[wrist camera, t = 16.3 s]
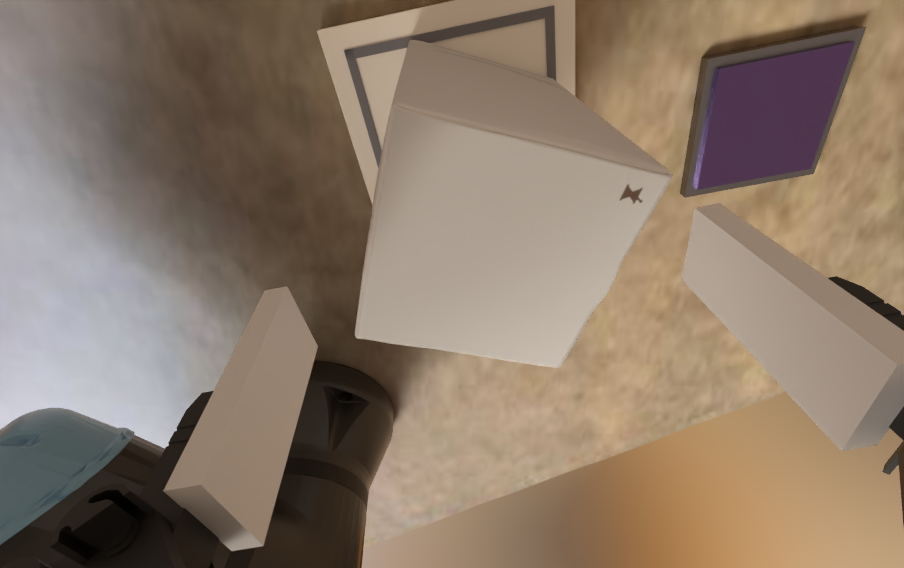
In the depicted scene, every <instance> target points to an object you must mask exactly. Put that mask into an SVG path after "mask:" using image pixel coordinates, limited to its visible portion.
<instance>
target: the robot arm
mask: <svg viewBox="0 0 904 568" xmlns="http://www.w3.org/2000/svg"><path fill="white" fill-rule="evenodd" d="M682 280H683V281H684V282H685V283H686V284H687V286H688V287H689V288H690V289H691V290H692V291H693V292H694V293H695V294H696V295H697V296H698V297H699V298H700V300H701V301H702V302H703V303H704V304H705V305H706V306H707V307H708V308H709V309H710V310H711V311H712V312H713V314H714V315H715V316H716V317H717V318H718V319H719V320H720V321H721V322H722V323H723V324H724V325H725V326H726V328H727V329H728V330H729V331H730V332H731V333H732V334H733V335H734V336H735V337H736V338H737V339H738V340H739V342H740V343H741V344H742V345H743V346H744V347H745V348H746V349H747V350H748V351H749V352H750V353H751V354H752V356H753V357H754V358H755V359H756V360H757V361H758V362H759V363H760V364H761V365H762V366H763V367H764V368H765V370H766V371H767V372H768V373H769V374H770V375H771V376H772V377H773V378H774V379H775V380H776V381H777V382H778V384H779V385H780V386H781V387H782V388H783V389H784V390H785V391H786V392H787V393H788V394H789V395H790V396H791V397H792V398H793V400H794V401H795V402H796V403H797V404H798V405H799V406H800V407H801V408H802V409H803V410H804V411H805V412H806V414H807V415H808V416H809V417H810V418H811V419H812V420H813V421H814V422H815V423H816V424H817V426H818V427H819V428H820V429H821V430H822V431H823V432H824V433H825V434H826V435H827V436H828V437H829V438H830V440H831V441H832V442H833V443H834V444H835V445H836V446H837V447H838V448H839V449H840V450H841V451H845V450H851V449H857V448H863V447H870V446H876V445H878V444H879V442H880V440H881V439H882V438H883V437H884V435H885V434H886V433H887V431H888V430H889V428H891V429H892V430H893V431H894V432H895V433H896V434H897V435H898V436H899V437H900V438H902V439H903V440H904V315H902V314H901V312H900V311H899V310H897V309H896V308H894V307H893V306H891V305H890V304H888V303H887V304H885V303H884V300H882V299H881V298H879V297H878V296H876V295H875V294H873V293H872V292H870V291H869V290H867V289H865V288H864V287H862V286H860V285H857V284H855V283H852V282H849V281H847V280H844V279H842V278H839V277H837V276H836V277H831V278H827V277H825V276H824V275H822V274H821V273H819V272H818V271H816V270H815V269H814V268H812V267H811V266H809V265H808V264H806V263H805V262H803V261H802V260H801V259H799V258H798V257H796V256H795V255H793V254H792V253H790V252H789V251H788V250H786V249H785V248H783V247H782V246H780V245H779V244H777V243H776V242H775V241H773V240H772V239H770V238H769V237H767V236H766V235H764V234H763V233H762V232H760V231H759V230H757V229H756V228H754V227H753V226H752V225H750V224H749V223H747V222H746V221H744V220H743V219H741V218H740V217H739V216H737V215H736V214H734V213H733V212H731V211H730V210H728V209H727V208H726V207H724V206H723V205H721V204H720V203H718V204H713V205H708V206H703V207H698V208H695V209H694V214H693V220H692V225H691V231H690V236H689V242H688V247H687V253H686V259H685V264H684V270H683V275H682ZM317 348H318V346H317V344H316V342H315V340H314V338H313V336H312V334H311V332H310V330H309V328H308V326H307V324H306V322H305V320H304V318H303V316H302V314H301V312H300V310H299V308H298V306H297V304H296V302H295V300H294V299H293V297H292V295H291V293H290V291H289V289H288V287H287V286H285V287H280V288H275V289H270V290H265V291H264V292H263V294H262V296H261V298H260V300H259V302H258V304H257V306H256V308H255V310H254V312H253V314H252V316H251V318H250V320H249V322H248V324H247V326H246V328H245V330H244V332H243V334H242V336H241V338H240V340H239V342H238V344H237V346H236V348H235V350H234V352H233V354H232V356H231V358H230V360H229V362H228V364H227V366H226V368H225V370H224V372H223V374H222V376H221V378H220V380H219V382H218V384H217V386H216V388H215V389H214V391H210V392H205V393H202V394H201V395H200V396H199V397H198V398H197V399H196V400H195V401H194V402H193V404H192V405H191V406H190V407H189V408H188V409H187V410H186V412H185V414H184V415H183V417H182V419H181V421H180V423H179V425H178V426H177V431H175V432H174V434H173V436H172V437H171V439H170V441H169V446H168V447H166V448H165V449H164V448H162V447H160V446H158V445H155V444H153V443H151V442H149V441H147V440H144V439H142V438H140V437H138V436H135V435H134V432H133V431H131V430H129V429H128V428H115V427H113V426H110V425H108V424H105V423H103V422H100V421H97V420H95V419H92V418H90V417H87V416H85V415H82V414H79V413H77V412H74V411H72V410H68V409H63V408H47V409H41V410H36V411H33V412H30V413H27V414H25V415H23V416H21V417H19V418H17V419H15V420H14V421H12V422H10V423H9V424H8V425H6V426H5V427H4V428H2V429H1V430H0V568H361V566H362V557H363V546H364V535H365V524H366V511H367V502H368V494H369V489H370V486H371V484H372V481H373V479H374V477H375V475H376V472H377V470H378V468H379V466H380V463H381V461H382V459H383V457H384V454H385V452H386V450H387V448H388V445H389V443H390V441H391V437H392V432H393V420H394V408H393V404H392V401H391V399H390V397H389V396H388V394H387V393H386V391H385V390H384V389H383V388H382V387H381V386H380V385H379V384H378V383H376V382H375V381H374V380H372V379H371V378H369V377H368V376H366V375H364V374H362V373H360V372H358V371H356V370H353V369H351V368H348V367H345V366H341V365H337V364H332V363H326V362H314V359H315V356H316V352H317ZM897 465H899V472H900V484H901V498H902V511H903V524H904V441H903V442H902V443H901V445H900V446H899V447H898V448H897V450H896V451H895V452H894V454H893V455H892V456H891V458H890V459H889V460H888V461H887V463H886V464H885V466H884V469H883V472H884V473H887V474H890V473H891V472H892V471H893V470H894V469H895V467H896V466H897Z"/></svg>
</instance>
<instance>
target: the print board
mask: <svg viewBox="0 0 904 568" xmlns="http://www.w3.org/2000/svg"><path fill="white" fill-rule="evenodd" d="M317 33H318V37H319V40H320V43H321V46H322V49H323V52H324V55H325V59H326V62H327V65H328V68H329V71H330V74H331V77H332V81H333V84H334V87H335V90H336V93H337V96H338V99H339V102H340V106H341V109H342V112H343V115H344V118H345V121H346V124H347V128H348V131H349V134H350V137H351V140H352V143H353V146H354V150H355V153H356V156H357V159H358V162H359V165H360V168H361V172H362V175H363V178H364V181H365V184H366V187H367V190H368V193H369V197H370V200H371V203H372V206H373V199H374V193H375V187H376V181H377V175H378V169H379V164H380V158H381V153H382V147H383V142H384V137H385V133H386V128H387V123H388V118H389V114H390V109H391V105H392V101H393V98H394V93H395V90H396V87H397V83H398V79H399V75H400V72H401V68H402V65H403V62H404V58H405V55H406V51H407V47H408V43H409V41H410V40H418V41H423V42H427V43H431V44H435V45H438V46H442V47H446V48H450V49H453V50H456V51H460V52H463V53H467V54H470V55H473V56H477V57H480V58H484V59H487V60H490V61H494V62H497V63H501V64H504V65H508V66H511V67H515V68H518V69H522V70H525V71H529V72H532V73H536V74H539V75H543V76H546V77H549V78H552V79H554V80H555V81H557V82H558V83H559V84H560V85H561V86H563V87H564V88H565V89H567V90H568V91H569V92H570V93H572V94H573V95H574V96H575V0H452V1H447V2H443V3H438V4H434V5H429V6H424V7H420V8H415V9H411V10H406V11H402V12H397V13H392V14H388V15H383V16H379V17H374V18H369V19H365V20H360V21H356V22H351V23H346V24H342V25H337V26H333V27H328V28H323V29H320V30H317Z"/></svg>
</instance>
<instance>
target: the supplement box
mask: <svg viewBox="0 0 904 568" xmlns="http://www.w3.org/2000/svg"><path fill="white" fill-rule="evenodd" d="M672 176H673V174H672V173H671V172H670V171H669V170H668V169H667V168H665V167H664V166H663V165H661V164H660V163H659V162H658V161H656V160H655V159H654V158H652V157H651V156H650V155H649V154H647V153H646V152H645V151H643V150H642V149H641V148H640V147H638V146H637V145H636V144H634V143H633V142H632V141H631V140H629V139H628V138H627V137H626V136H624V135H623V134H622V133H621V132H619V131H618V130H617V129H615V128H614V127H613V126H612V125H610V124H609V123H608V122H607V121H605V120H604V119H603V118H602V117H600V116H599V115H598V114H597V113H595V112H594V111H593V110H592V109H590V108H589V107H588V106H587V105H585V104H584V103H583V102H582V101H580V100H579V99H578V98H577V97H575V96H574V95H573V94H572V93H570V92H569V91H568V90H567V89H565V88H564V87H563V86H561V85H560V84H559V83H558V82H557V81H555V80H554V79H552V78H549V77H546V76H543V75H539V74H536V73H532V72H529V71H525V70H522V69H518V68H515V67H511V66H508V65H504V64H501V63H497V62H494V61H490V60H487V59H484V58H480V57H477V56H473V55H470V54H467V53H463V52H460V51H456V50H453V49H450V48H446V47H442V46H438V45H435V44H431V43H427V42H423V41H418V40H410V41H409V43H408V47H407V51H406V55H405V58H404V62H403V65H402V68H401V72H400V75H399V79H398V83H397V87H396V90H395V93H394V98H393V101H392V105H391V109H390V114H389V118H388V123H387V128H386V133H385V137H384V142H383V147H382V153H381V158H380V164H379V169H378V175H377V181H376V187H375V193H374V199H373V206H372V212H371V219H370V226H369V232H368V239H367V246H366V253H365V260H364V267H363V274H362V281H361V289H360V297H359V305H358V312H357V320H356V327H355V337H356V338H357V339H368V340H373V341H379V342H384V343H390V344H397V345H405V346H412V347H420V348H429V349H437V350H443V351H449V352H456V353H463V354H469V355H476V356H482V357H488V358H495V359H500V360H506V361H512V362H519V363H525V364H532V365H539V366H547V367H556V368H558V367H560V366H561V365H562V364H563V363H564V361H565V359H566V357H567V356H568V354H569V352H570V350H571V349H572V347H573V345H574V344H575V342H576V340H577V338H578V337H579V335H580V333H581V332H582V330H583V328H584V327H585V325H586V323H587V321H588V320H589V318H590V316H591V314H592V313H593V311H594V309H595V308H596V306H597V305H598V304H599V303H600V302H601V301H602V299H603V298H604V297H605V296H606V294H607V293H608V291H609V289H610V288H611V286H612V284H613V282H614V280H615V278H616V275H617V273H618V269H619V267H620V265H621V264H622V262H623V260H624V258H625V257H626V255H627V253H628V252H629V250H630V248H631V246H632V245H633V243H634V241H635V240H636V238H637V236H638V235H639V233H640V231H641V230H642V228H643V226H644V225H645V223H646V221H647V220H648V218H649V217H650V215H651V213H652V212H653V210H654V208H655V207H656V205H657V203H658V201H659V200H660V198H661V196H662V195H663V193H664V191H665V189H666V188H667V186H668V184H669V182H670V181H671V179H672Z"/></svg>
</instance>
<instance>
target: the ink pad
mask: <svg viewBox="0 0 904 568" xmlns="http://www.w3.org/2000/svg"><path fill="white" fill-rule="evenodd" d="M865 28H866V27H858V26H854V27H849V28H845V29H840V30H835V31H830V32H825V33H820V34H815V35H810V36H805V37H800V38H795V39H790V40H785V41H780V42H775V43H770V44H766V45H761V46H756V47H751V48H746V49H741V50H736V51H731V52H726V53H721V54H716V55H711V56H706V57H702V60H701V66H700V72H699V79H698V85H697V91H696V97H695V103H694V110H693V116H692V122H691V128H690V135H689V141H688V147H687V153H686V159H685V166H684V172H683V178H682V184H681V191H680V194H681V195H683V196H684V197H690V196H695V195H701V194H706V193H712V192H717V191H723V190H728V189H733V188H739V187H744V186H750V185H755V184H761V183H766V182H772V181H777V180H782V179H788V178H793V177H799V176H804V175H810V174H814V172H815V169H816V166H817V163H818V160H819V158H820V155H821V152H822V149H823V146H824V143H825V141H826V138H827V135H828V132H829V129H830V127H831V124H832V121H833V118H834V115H835V113H836V110H837V107H838V104H839V101H840V98H841V96H842V93H843V90H844V87H845V84H846V82H847V79H848V76H849V73H850V70H851V68H852V65H853V62H854V59H855V56H856V53H857V51H858V48H859V45H860V42H861V39H862V37H863V34H864V31H865Z"/></svg>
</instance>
